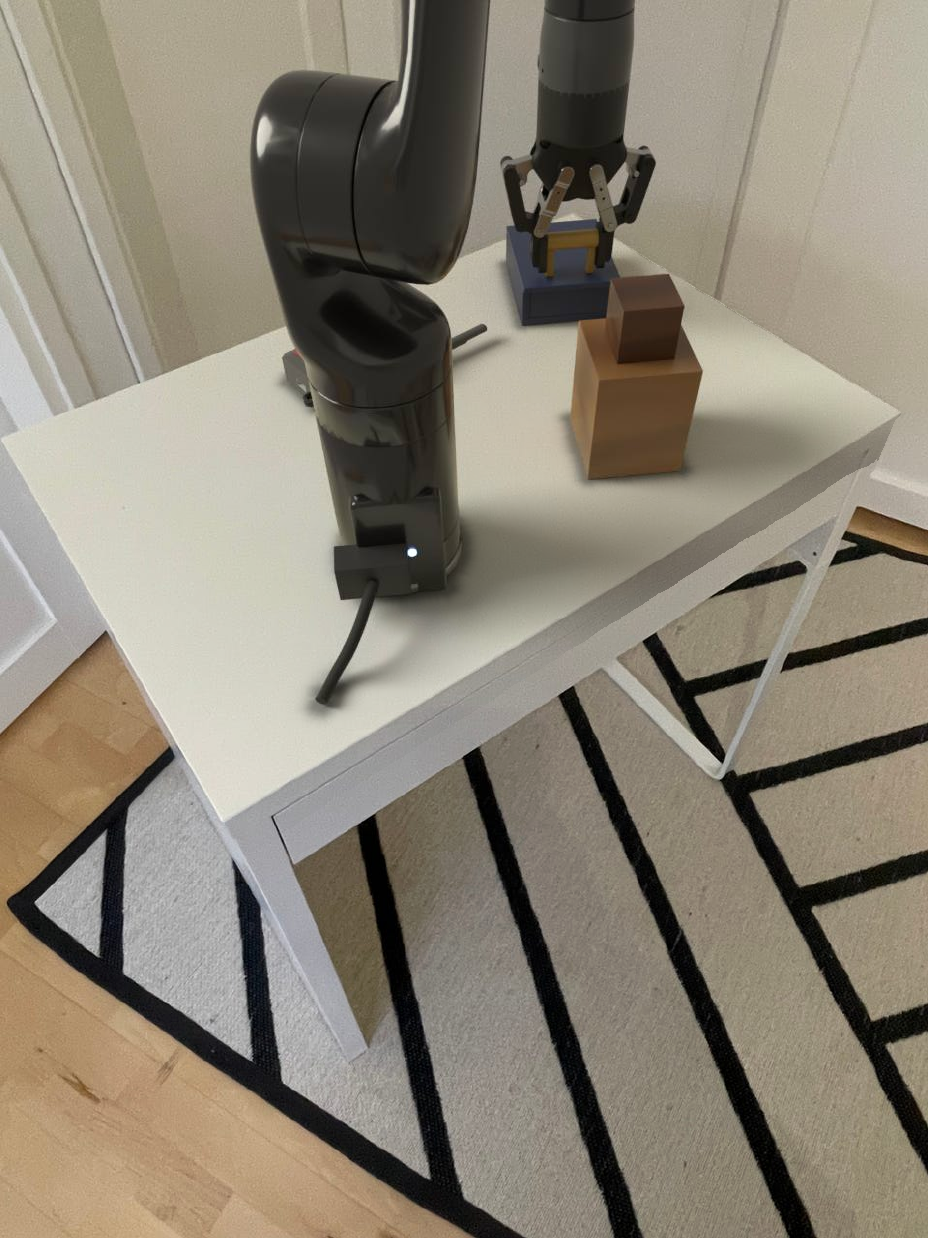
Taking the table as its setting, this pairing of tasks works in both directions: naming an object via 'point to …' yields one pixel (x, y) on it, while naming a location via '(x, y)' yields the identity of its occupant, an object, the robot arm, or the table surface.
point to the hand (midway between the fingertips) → (570, 265)
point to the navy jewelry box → (555, 300)
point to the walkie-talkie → (299, 376)
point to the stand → (631, 406)
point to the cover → (562, 258)
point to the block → (643, 318)
